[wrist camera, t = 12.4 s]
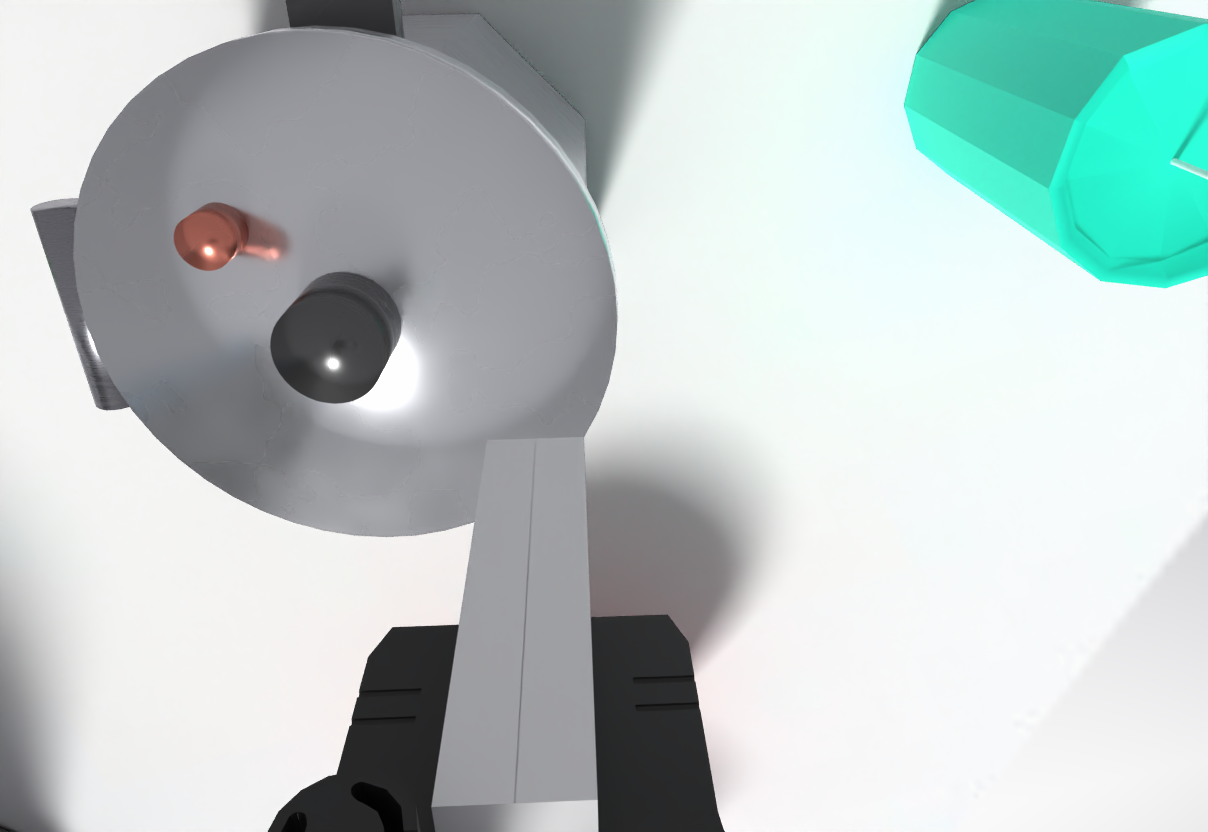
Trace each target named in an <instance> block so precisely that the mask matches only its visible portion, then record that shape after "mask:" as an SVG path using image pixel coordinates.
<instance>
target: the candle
mask: <svg viewBox="0 0 1208 832" xmlns="http://www.w3.org/2000/svg"><path fill="white" fill-rule="evenodd" d="M904 107H905V111H906V114H907V118H908V121H909V125H910V128H911V132H912V135H913V139H914V142H915V146H916V149H917V150H919V151H920V152H921V153H922V154H924V155H925V156H926V157H927V158H929V159H930V160H931V161H932V162H933V163H935V164H936V165H937V166H938V167H940V168H941V169H942V170H943V171H945V172H946V173H947V174H948V175H950V176H951V177H952V178H954V179H955V180H957V181H958V182H960V183H961V184H962V185H964V186H965V187H967V188H968V189H970V190H971V191H972V192H974V193H975V194H977V195H978V196H980V197H981V198H983V199H984V200H985V201H987V202H988V203H990V204H991V205H993V206H994V207H995V208H997V209H998V210H1000V211H1001V212H1003V213H1004V214H1005V215H1007V216H1008V217H1010V218H1011V219H1013V220H1014V221H1015V222H1017V223H1018V224H1020V225H1021V226H1023V227H1024V228H1025V229H1027V230H1028V231H1030V232H1031V233H1033V234H1034V235H1036V236H1037V237H1038V238H1040V239H1041V240H1043V241H1044V242H1046V243H1047V244H1048V245H1050V246H1051V247H1053V248H1054V249H1056V250H1057V251H1058V252H1060V253H1061V254H1063V255H1064V256H1066V257H1067V258H1068V259H1070V260H1071V261H1073V262H1074V263H1076V264H1077V265H1078V266H1080V267H1081V268H1083V269H1084V270H1086V271H1087V272H1089V273H1090V274H1091V275H1093V276H1094V277H1096V278H1097V279H1099V280H1100V281H1105V282H1114V283H1123V284H1132V285H1141V286H1150V287H1159V288H1168V287H1171V286H1174V285H1178V284H1181V283H1184V282H1187V281H1191V280H1194V279H1197V278H1200V277H1204V276H1207V275H1208V19H1203V18H1197V17H1191V16H1185V15H1178V14H1172V13H1166V12H1160V11H1154V10H1148V9H1142V8H1136V7H1130V6H1123V5H1117V4H1111V3H1105V2H1099V1H1093V0H974V1H972V2H970V3H968V4H966V5H964V6H962V7H960V8H958V9H955V10H953V11H951V12H950V14H949V15H948V16H947V17H946V19H945V20H944V21H943V22H942V23H941V25H940V26H939V27H938V28H937V30H936V31H935V32H934V33H933V35H932V36H931V37H930V38H929V40H928V41H927V42H926V43H925V44H924V46H923V47H922V48H921V49H920V51H919V52H918V53H917V54H916V57H915V61H914V66H913V70H912V74H911V78H910V82H909V86H908V90H907V94H906V99H905V103H904Z"/></svg>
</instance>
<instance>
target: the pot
mask: <svg viewBox="0 0 1208 832" xmlns="http://www.w3.org/2000/svg"><path fill="white" fill-rule="evenodd" d="M286 5H287V11H288V16H289V22H290V28H292V27H304V26H315V25H318V26H336V27H353V28H360V29H365V30H370V31H375V32H380V33H385V34H390V35H395V36H398V37H401V38H404V39H407V40H410V41H413V42H416V43H418V44H421V45H424V46H427V47H430V48H433V49H435V50H437V51H439V52H441V53H443V54H445V55H447V56H449V57H451V58H453V59H455V60H457V61H459V62H461V63H463V64H465V65H467V66H469V67H471V68H472V69H474V70H475V71H477V72H478V73H480V74H481V75H483V76H484V77H486V78H488V79H489V80H491V81H492V82H494V83H495V84H497V85H498V86H500V87H501V88H503V89H504V90H505V91H506V92H507V93H508V94H510V95H511V96H512V97H513V98H514V99H515V100H516V101H518V102H519V103H520V104H521V105H522V106H523V107H525V108H526V109H527V110H528V111H529V112H530V113H532V114H533V115H534V117H535V118H536V119H537V120H538V121H539V122H540V123H541V124H542V125H543V127H544V128H545V129H546V130H547V131H548V132H549V133H550V134H551V135H552V137H553V138H554V139H555V140H556V141H557V142H558V143H559V145H560V146H561V148H562V149H563V151H564V152H565V153H566V155H567V156H568V158H569V159H570V161H571V162H572V163H573V165H574V166H575V168H576V169H577V171H578V172H579V174H580V175H581V177H582V179H583V181H584V183H585V185H586V187H587V176H586V136H585V119H584V118H583V117H582V116H581V115H580V114H579V113H578V112H577V111H576V110H575V109H574V108H573V107H572V106H571V105H570V104H569V103H568V102H567V101H566V100H565V99H564V98H563V97H562V96H561V95H560V94H559V93H558V92H557V91H556V90H555V89H554V88H553V87H552V86H551V85H550V84H549V83H548V82H547V81H546V80H545V79H544V78H543V77H542V76H541V75H540V74H539V73H538V72H537V71H536V70H535V69H534V68H533V67H532V66H531V65H530V64H529V63H528V62H527V61H526V60H525V59H524V58H523V57H522V56H521V55H520V54H519V53H518V52H517V51H516V50H515V49H514V48H513V47H512V46H511V45H510V44H509V43H508V42H507V41H506V40H505V39H504V38H503V37H502V36H501V35H500V34H499V33H497V32H496V31H495V30H494V29H493V28H492V27H491V26H490V25H489V24H488V23H487V22H486V21H485V20H484V19H483V18H482V17H481V16H480V15H479V14H438V15H402V11H401V2H400V0H286Z"/></svg>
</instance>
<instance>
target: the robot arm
mask: <svg viewBox="0 0 1208 832" xmlns="http://www.w3.org/2000/svg"><path fill="white" fill-rule="evenodd" d="M0 832H8V831H5V830H3V829H0ZM268 832H725V831H724V829H723V826H722V823H721V820H720V817H719V814H718V810H717V804H716V798H715V793H714V787H713V781H712V775H711V770H710V764H709V758H708V752H707V746H706V741H705V735H704V729H703V723H702V718H701V712H700V709H699V700H698V694H697V689H696V683H695V681H694V671H693V666H692V660H691V654H690V648H689V642H688V641H687V640H686V638H685V637H684V636H683V634H682V633H681V632H680V630H679V629H678V628H677V626H676V625H675V624H674V623H673V621H672V620H671V619H670V617H669V616H668V615H643V616H616V617H591V612H590V585H589V558H588V532H587V505H586V478H585V452H584V437H567V438H535V439H504V440H487V444H486V450H485V457H484V464H483V470H482V477H481V483H480V490H479V497H478V503H477V510H476V516H475V523H474V529H473V536H472V543H471V549H470V556H469V562H468V569H467V576H466V582H465V589H464V595H463V602H462V608H461V615H460V622H459V625H441V626H414V627H392V628H391V630H390V631H389V632H388V633H387V635H386V636H385V637H384V638H383V640H382V641H381V642H380V643H379V644H378V646H377V647H376V648H375V649H374V651H373V652H372V653H371V654H370V655H369V657H368V660H367V664H366V667H365V671H364V675H363V678H362V682H361V686H360V689H359V697H357V701H356V704H355V708H354V712H353V715H352V725H351V726H350V727H349V730H348V734H347V738H346V741H345V745H344V749H343V752H342V756H341V760H340V764H339V767H338V771H337V775H332V776H328V777H326V778H324V779H322V780H320V781H318V782H316V783H314V784H312V785H310V786H309V787H307V788H305V789H303V790H301V791H300V792H299V793H298V794H297V795H296V796H295V797H293V798H292V799H291V800H290V801H289V802H288V803H287V804H286V805H285V806H284V807H283V808H282V809H281V810H280V811H279V812H278V814H277V815H276V817H275V819H274V821H273V823H272V825H271V826H270V828H269V830H268Z"/></svg>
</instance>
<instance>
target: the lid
mask: <svg viewBox="0 0 1208 832" xmlns="http://www.w3.org/2000/svg"><path fill="white" fill-rule="evenodd" d="M31 213H32V216H33V219H34V222H35V225H36V228H37V231H38V234H39V237H40V240H41V243H42V246H43V249H44V252H45V255H46V258H47V261H48V264H49V267H50V270H51V273H52V276H53V279H54V282H55V285H56V288H57V291H58V294H59V297H60V300H61V303H62V306H63V309H64V312H65V315H66V318H67V321H68V324H69V327H70V330H71V333H72V336H73V339H74V342H75V345H76V348H77V351H78V354H79V357H80V360H81V363H82V366H83V369H84V372H85V375H86V378H87V381H88V384H89V387H90V390H91V393H92V396H93V399H94V402H95V405H96V407H98V408H99V409H103V410H118V409H123V408H127V407H130V408H131V409H132V411H133V412H134V413H135V414H136V415H137V416H138V418H139V419H140V420H141V421H142V422H143V423H144V425H145V426H146V427H147V428H148V429H149V430H150V431H151V433H152V434H153V435H154V436H155V437H156V438H157V439H158V440H159V441H160V442H161V443H162V444H163V445H164V446H166V447H167V448H168V449H169V450H170V451H171V452H172V453H173V454H174V455H175V456H176V457H177V458H178V459H179V460H181V461H182V462H183V463H185V464H186V465H187V466H189V467H190V468H191V469H193V470H194V471H195V472H196V473H198V474H199V475H200V476H202V477H203V478H204V479H206V480H207V481H209V482H210V483H212V484H214V485H215V486H217V487H219V488H220V489H222V490H223V491H225V492H227V493H228V494H230V495H232V496H233V497H235V498H237V499H239V500H241V501H243V502H245V503H247V504H249V505H251V506H253V507H256V508H258V509H260V510H262V511H264V512H267V513H269V514H272V515H275V516H277V517H280V518H283V519H285V520H288V521H291V522H294V523H297V524H301V525H305V526H309V527H313V528H316V529H320V530H324V531H330V532H337V533H343V534H349V535H358V536H377V537H394V536H413V535H421V534H427V533H433V532H439V531H445V530H448V529H452V528H455V527H459V526H462V525H466V524H469V523H473V522H475V516H476V510H477V503H478V497H479V490H480V483H481V477H482V470H483V464H484V457H485V450H486V444H487V440H504V439H535V438H567V437H584V436H585V434H586V432H587V430H588V429H589V427H590V425H591V423H592V421H593V419H594V418H595V416H596V414H597V412H598V410H599V408H600V405H601V402H602V399H603V397H604V394H605V391H606V389H607V386H608V383H609V379H610V374H611V370H612V365H613V360H614V355H615V349H616V333H617V310H618V302H617V289H616V276H615V268H614V264H613V259H612V254H611V250H610V245H609V241H608V237H607V234H606V231H605V229H604V226H603V223H602V220H601V218H600V215H599V212H598V209H597V207H596V204H595V202H594V200H593V199H592V197H591V195H590V193H589V191H588V189H587V187H586V185H585V183H584V181H583V179H582V177H581V175H580V174H579V172H578V171H577V169H576V168H575V166H574V165H573V163H572V162H571V161H570V159H569V158H568V156H567V155H566V153H565V152H564V151H563V149H562V148H561V146H560V145H559V143H558V142H557V141H556V140H555V139H554V138H553V137H552V135H551V134H550V133H549V132H548V131H547V130H546V129H545V128H544V127H543V125H542V124H541V123H540V122H539V121H538V120H537V119H536V118H535V117H534V115H533V114H532V113H530V112H529V111H528V110H527V109H526V108H525V107H523V106H522V105H521V104H520V103H519V102H518V101H516V100H515V99H514V98H513V97H512V96H511V95H510V94H508V93H507V92H506V91H505V90H504V89H503V88H501V87H500V86H498V85H497V84H495V83H494V82H492V81H491V80H489V79H488V78H486V77H484V76H483V75H481V74H480V73H478V72H477V71H475V70H474V69H472V68H471V67H469V66H467V65H465V64H463V63H461V62H459V61H457V60H455V59H453V58H451V57H449V56H447V55H445V54H443V53H441V52H439V51H437V50H435V49H433V48H430V47H427V46H424V45H421V44H418V43H416V42H413V41H410V40H407V39H404V38H401V37H398V36H395V35H390V34H385V33H380V32H375V31H370V30H365V29H360V28H353V27H336V26H318V25H315V26H304V27H292V28H280V29H275V30H271V31H267V32H262V33H258V34H254V35H250V36H246V37H242V38H239V39H235V40H232V41H229V42H226V43H223V44H220V45H218V46H216V47H213V48H211V49H208V50H206V51H204V52H201V53H199V54H196V55H194V56H191V57H189V58H187V59H186V60H184V61H182V62H181V63H179V64H177V65H176V66H174V67H173V68H171V69H169V70H168V71H166V72H165V73H163V74H161V75H160V76H158V77H157V78H156V79H154V80H153V81H152V82H151V83H150V84H149V85H148V86H146V87H145V88H144V89H143V90H142V91H141V92H140V93H139V94H137V95H136V96H135V97H134V98H133V99H132V100H131V101H130V102H129V103H128V104H127V106H126V107H125V108H124V109H123V110H122V112H121V113H120V114H119V115H118V117H117V118H116V119H115V120H114V122H113V123H112V124H111V125H110V127H109V128H108V130H107V131H106V133H105V135H104V137H103V139H102V140H101V142H100V144H99V146H98V148H97V149H96V151H95V153H94V155H93V157H92V159H91V162H90V164H89V167H88V170H87V173H86V176H85V178H84V181H83V184H82V187H81V190H80V195H79V198H71V199H60V200H53V201H48V202H44V203H41V204H38V205H35V206H34V207H32V208H31Z"/></svg>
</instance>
